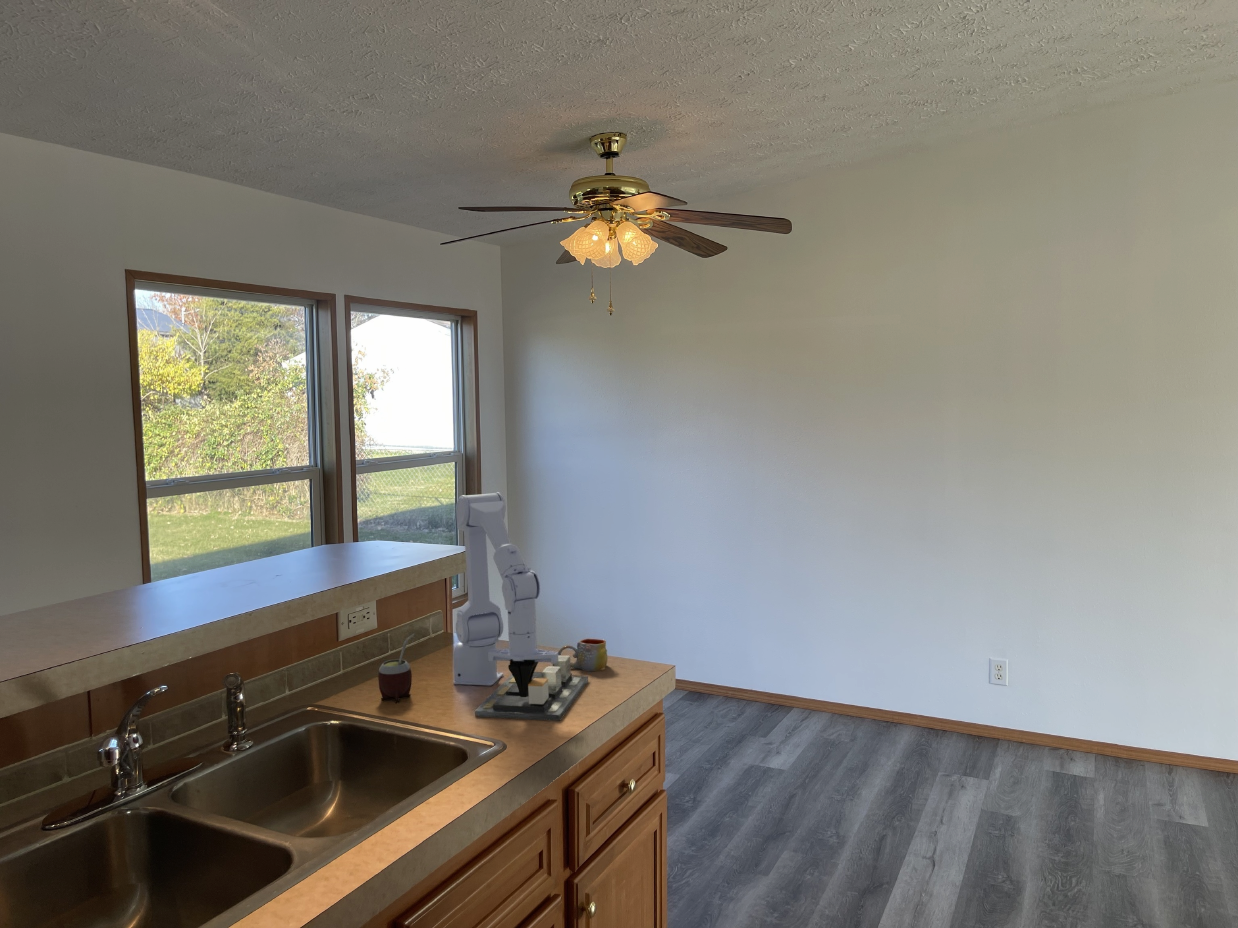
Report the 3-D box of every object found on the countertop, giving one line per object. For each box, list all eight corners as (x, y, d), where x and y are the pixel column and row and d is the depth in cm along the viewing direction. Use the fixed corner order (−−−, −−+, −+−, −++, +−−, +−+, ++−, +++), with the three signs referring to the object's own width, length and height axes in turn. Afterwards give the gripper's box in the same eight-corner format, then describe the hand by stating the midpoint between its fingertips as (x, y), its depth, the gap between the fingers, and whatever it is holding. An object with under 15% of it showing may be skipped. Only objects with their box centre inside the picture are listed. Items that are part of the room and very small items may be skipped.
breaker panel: (474, 716, 170) (473, 685, 169) (513, 678, 193) (512, 651, 193) (559, 720, 166) (558, 689, 166) (588, 681, 190) (587, 653, 189)
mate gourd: (378, 695, 184) (375, 629, 183) (414, 690, 187) (411, 625, 186) (380, 706, 177) (377, 637, 176) (418, 701, 180) (415, 633, 179)
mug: (607, 663, 203) (606, 636, 203) (608, 671, 197) (607, 643, 196) (558, 664, 203) (557, 638, 203) (557, 673, 196) (556, 645, 196)
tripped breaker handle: (528, 703, 169) (528, 684, 169) (534, 696, 173) (534, 677, 173) (543, 704, 169) (542, 684, 168) (548, 697, 173) (547, 678, 172)
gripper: (481, 635, 168) (484, 700, 169) (550, 637, 165) (552, 703, 166) (494, 625, 175) (496, 688, 176) (560, 627, 172) (562, 691, 173)
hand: (524, 695), depth 171 cm, fingers closed
